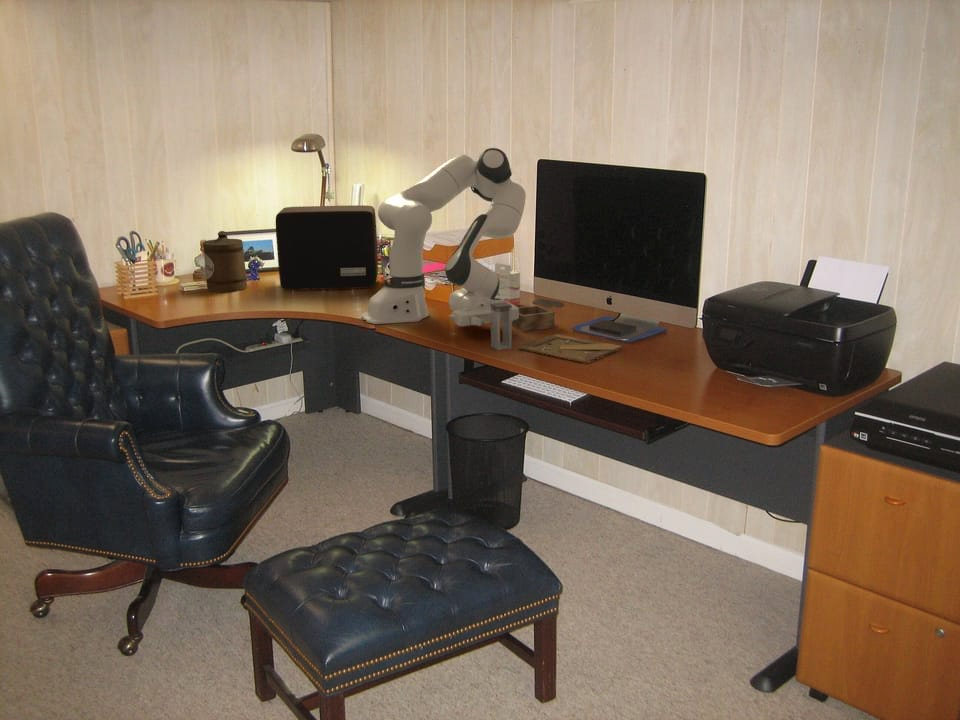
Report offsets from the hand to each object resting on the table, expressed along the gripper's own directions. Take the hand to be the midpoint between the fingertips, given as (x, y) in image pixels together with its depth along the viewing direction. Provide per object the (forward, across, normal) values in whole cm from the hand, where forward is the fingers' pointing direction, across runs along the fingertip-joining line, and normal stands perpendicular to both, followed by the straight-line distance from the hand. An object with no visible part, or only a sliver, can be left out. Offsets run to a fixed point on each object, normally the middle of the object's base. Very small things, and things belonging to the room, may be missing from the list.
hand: (496, 320), depth 281 cm
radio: (-103, -23, +7) cm, 106 cm away
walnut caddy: (-15, +19, +7) cm, 25 cm away
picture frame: (+15, +16, +8) cm, 24 cm away
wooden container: (-117, -60, +7) cm, 132 cm away
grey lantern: (+4, 0, +7) cm, 8 cm away
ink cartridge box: (-45, +25, +7) cm, 52 cm away
